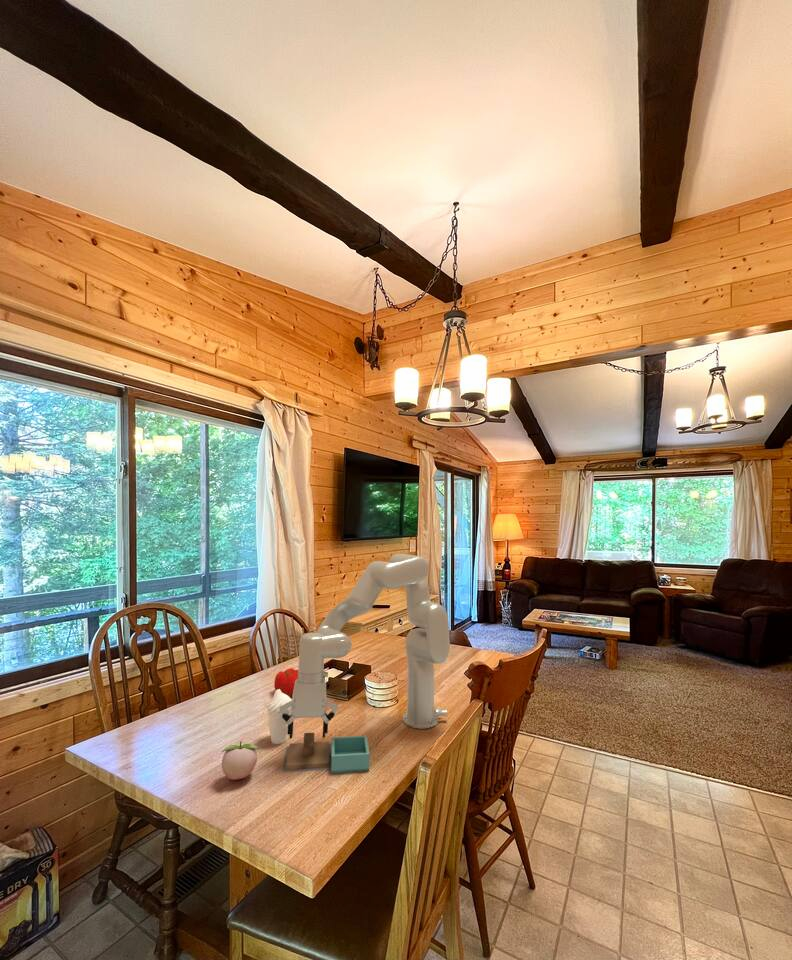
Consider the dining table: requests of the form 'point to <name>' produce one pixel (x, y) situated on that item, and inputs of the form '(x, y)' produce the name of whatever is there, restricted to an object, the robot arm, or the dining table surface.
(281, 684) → the tomato
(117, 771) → the dining table surface
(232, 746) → the decorative fruit
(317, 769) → the mat
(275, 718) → the soft serve ice cream cone
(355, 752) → the open box
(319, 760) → the lid
